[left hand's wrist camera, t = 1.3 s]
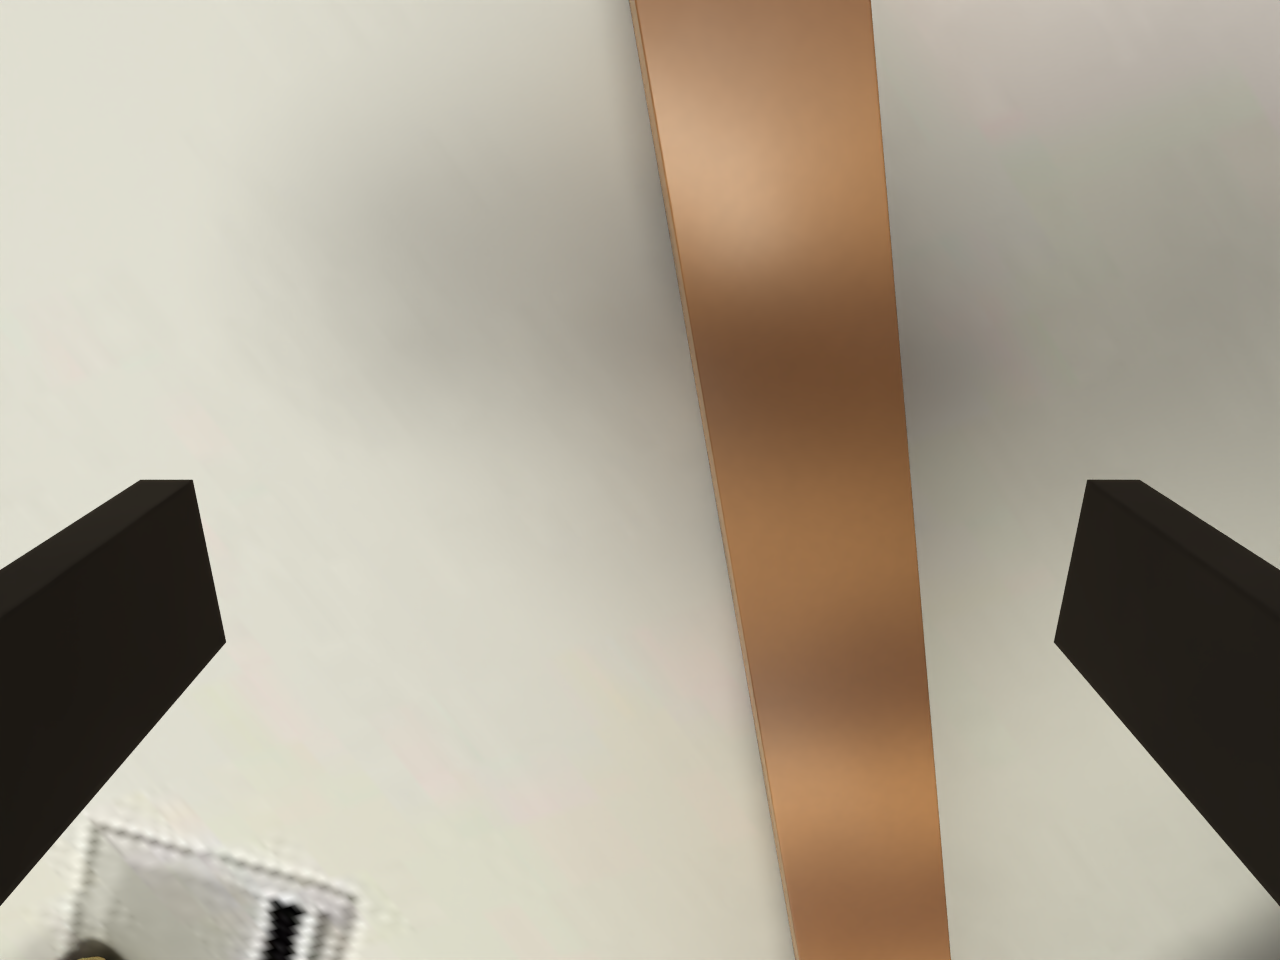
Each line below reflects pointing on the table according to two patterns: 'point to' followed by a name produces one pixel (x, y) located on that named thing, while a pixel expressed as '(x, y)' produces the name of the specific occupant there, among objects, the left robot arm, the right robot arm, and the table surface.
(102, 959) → the toy gun
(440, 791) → the table surface
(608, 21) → the table surface
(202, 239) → the table surface
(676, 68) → the bar
